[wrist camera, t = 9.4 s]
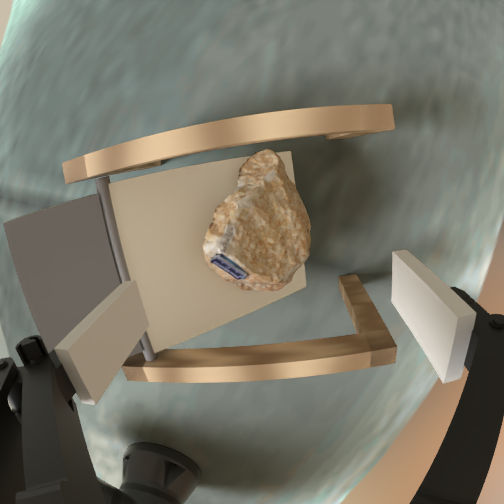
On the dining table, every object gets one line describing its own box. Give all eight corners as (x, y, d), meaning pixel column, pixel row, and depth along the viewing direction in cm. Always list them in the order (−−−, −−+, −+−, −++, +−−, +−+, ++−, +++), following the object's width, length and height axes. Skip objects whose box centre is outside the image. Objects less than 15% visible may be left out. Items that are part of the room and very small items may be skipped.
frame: (174, 305, 36) (127, 380, 23) (142, 155, 31) (62, 163, 17) (356, 286, 33) (395, 362, 20) (343, 123, 28) (391, 104, 15)
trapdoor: (64, 360, 23) (68, 391, 19) (12, 206, 19) (-1, 208, 14) (275, 279, 34) (307, 291, 30) (257, 150, 30) (290, 145, 26)
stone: (178, 245, 22) (205, 256, 19) (258, 143, 25) (295, 136, 21) (249, 302, 27) (283, 320, 23) (311, 209, 29) (349, 212, 25)
